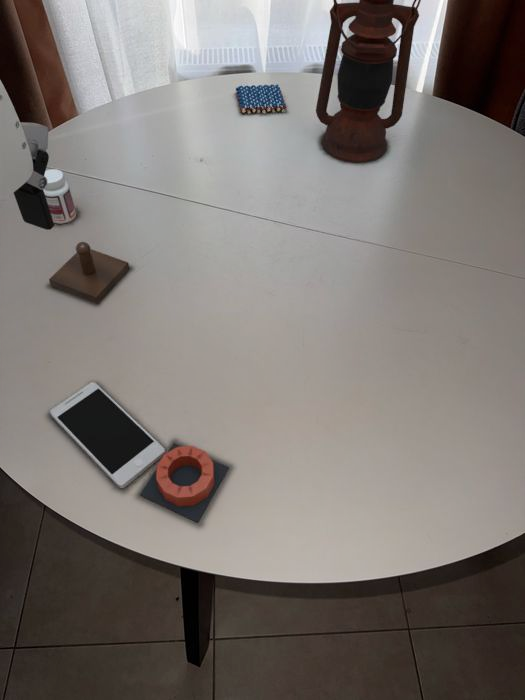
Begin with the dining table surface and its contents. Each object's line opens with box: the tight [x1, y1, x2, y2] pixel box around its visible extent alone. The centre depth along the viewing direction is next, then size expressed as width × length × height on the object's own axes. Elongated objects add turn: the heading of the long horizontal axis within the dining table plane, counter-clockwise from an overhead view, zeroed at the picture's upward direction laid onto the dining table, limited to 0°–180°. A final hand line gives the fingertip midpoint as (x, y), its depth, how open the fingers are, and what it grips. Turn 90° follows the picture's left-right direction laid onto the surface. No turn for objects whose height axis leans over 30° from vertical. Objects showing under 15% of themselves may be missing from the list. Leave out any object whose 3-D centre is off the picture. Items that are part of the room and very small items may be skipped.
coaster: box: [139, 442, 230, 523], centre depth 71 cm, size 8×8×1 cm
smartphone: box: [49, 381, 166, 489], centre depth 75 cm, size 7×15×1 cm, turn 46°
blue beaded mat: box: [235, 83, 287, 115], centre depth 132 cm, size 10×11×2 cm
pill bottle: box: [43, 168, 77, 225], centre depth 101 cm, size 5×5×8 cm
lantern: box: [315, 0, 422, 164], centre depth 111 cm, size 17×14×30 cm
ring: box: [156, 445, 214, 506], centre depth 70 cm, size 7×7×2 cm
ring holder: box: [48, 241, 131, 305], centre depth 92 cm, size 9×9×7 cm
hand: (4, 254), depth 52 cm, fingers open, 9 cm apart
